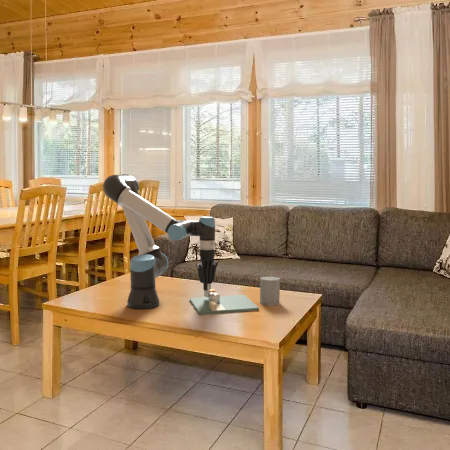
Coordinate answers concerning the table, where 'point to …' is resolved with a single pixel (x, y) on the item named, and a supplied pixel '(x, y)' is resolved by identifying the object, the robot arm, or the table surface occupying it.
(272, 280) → the speckled grey cylinder
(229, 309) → the board
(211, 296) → the bar
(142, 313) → the table surface
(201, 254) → the robot arm
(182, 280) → the table surface
